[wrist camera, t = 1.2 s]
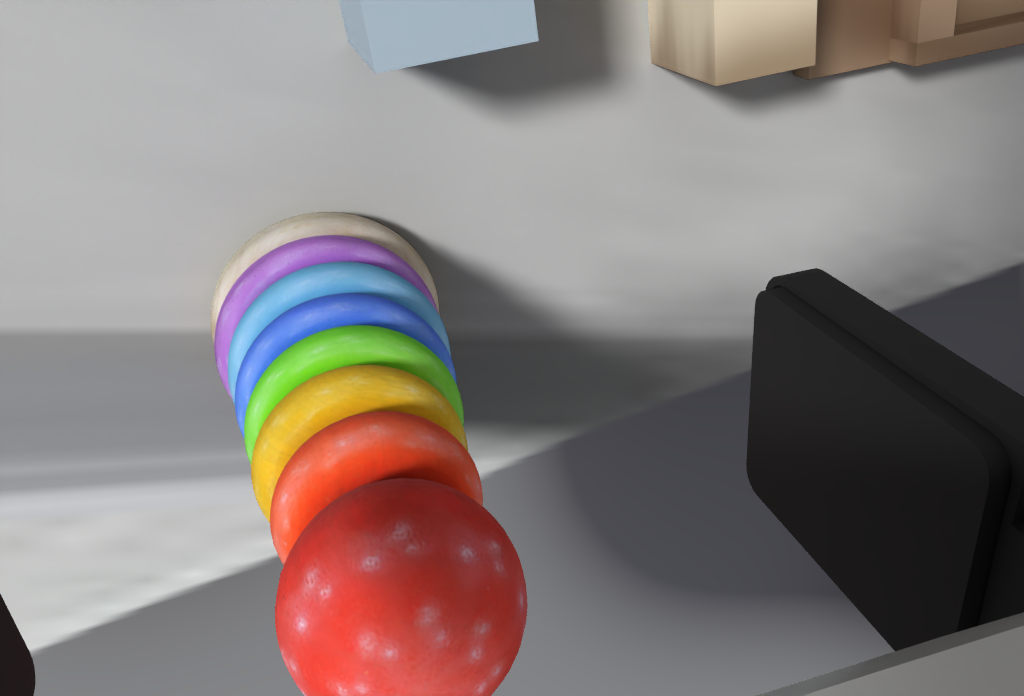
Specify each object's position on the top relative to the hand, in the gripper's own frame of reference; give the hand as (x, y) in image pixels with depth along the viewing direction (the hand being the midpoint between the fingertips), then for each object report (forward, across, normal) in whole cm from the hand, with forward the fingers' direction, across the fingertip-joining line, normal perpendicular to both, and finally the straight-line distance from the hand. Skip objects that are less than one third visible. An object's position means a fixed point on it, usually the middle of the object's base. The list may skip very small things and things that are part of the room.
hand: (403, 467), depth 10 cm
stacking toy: (+22, 0, +8) cm, 23 cm away
